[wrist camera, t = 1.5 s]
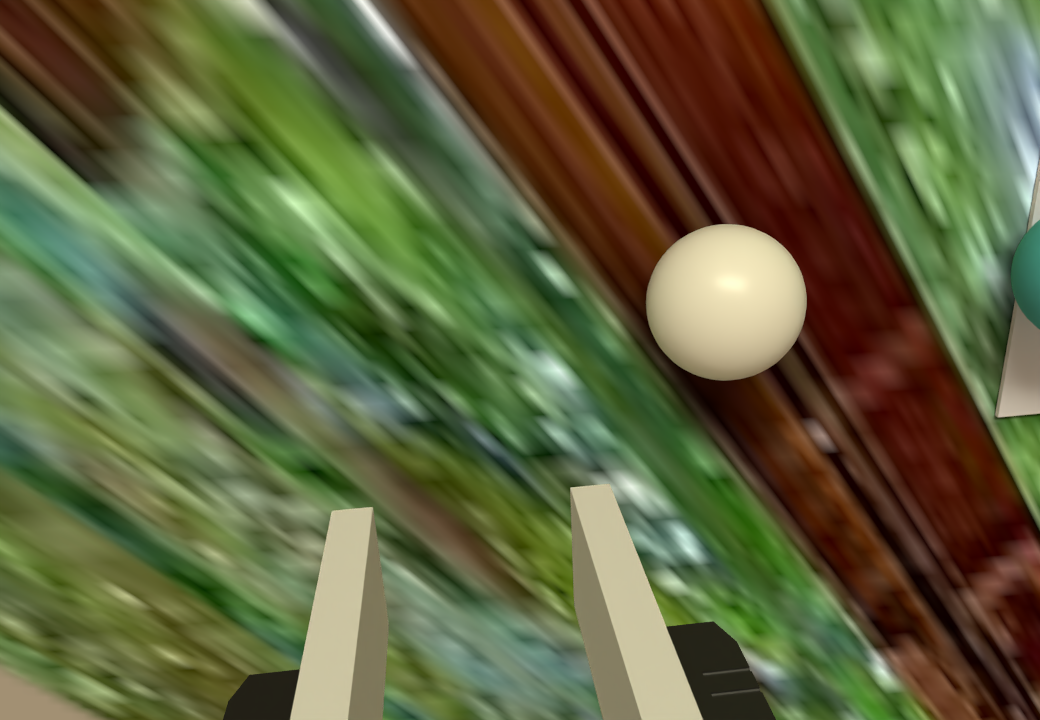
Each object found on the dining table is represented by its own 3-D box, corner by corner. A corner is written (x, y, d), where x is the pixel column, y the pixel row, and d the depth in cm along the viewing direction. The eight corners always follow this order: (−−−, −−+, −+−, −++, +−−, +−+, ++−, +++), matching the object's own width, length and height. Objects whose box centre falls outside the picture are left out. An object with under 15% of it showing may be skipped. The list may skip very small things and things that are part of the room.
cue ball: (775, 204, 31) (841, 238, 26) (766, 342, 34) (827, 398, 28) (630, 215, 31) (670, 251, 26) (631, 353, 33) (667, 412, 28)
